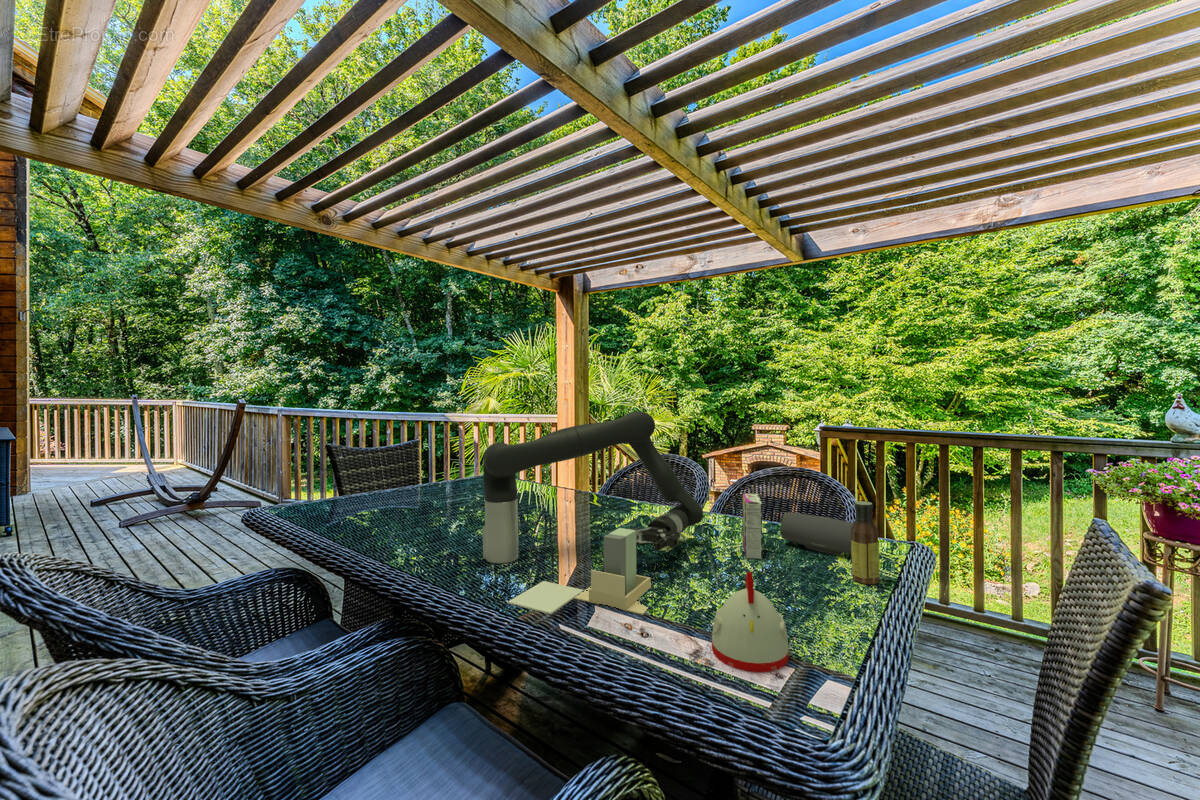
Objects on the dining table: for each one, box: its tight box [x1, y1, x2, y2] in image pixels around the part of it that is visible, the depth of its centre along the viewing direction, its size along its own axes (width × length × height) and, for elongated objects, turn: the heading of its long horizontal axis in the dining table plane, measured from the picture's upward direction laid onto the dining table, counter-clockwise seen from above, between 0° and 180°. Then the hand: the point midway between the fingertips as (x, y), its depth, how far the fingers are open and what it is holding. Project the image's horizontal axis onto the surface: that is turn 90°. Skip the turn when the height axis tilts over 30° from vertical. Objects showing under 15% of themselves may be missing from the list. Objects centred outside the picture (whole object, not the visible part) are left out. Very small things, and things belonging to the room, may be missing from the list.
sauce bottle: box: [850, 500, 881, 585], centre depth 132 cm, size 7×6×20 cm
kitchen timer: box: [711, 571, 789, 673], centre depth 99 cm, size 14×14×15 cm
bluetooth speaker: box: [779, 512, 854, 556], centre depth 156 cm, size 23×9×10 cm, turn 47°
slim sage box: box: [603, 527, 637, 596], centre depth 125 cm, size 4×8×15 cm, turn 150°
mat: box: [507, 580, 585, 615], centre depth 125 cm, size 12×14×1 cm
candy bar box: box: [742, 492, 763, 560], centre depth 154 cm, size 11×5×16 cm, turn 168°
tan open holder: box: [573, 569, 652, 616], centre depth 127 cm, size 18×17×8 cm
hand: (640, 544), depth 135 cm, fingers open, 8 cm apart
